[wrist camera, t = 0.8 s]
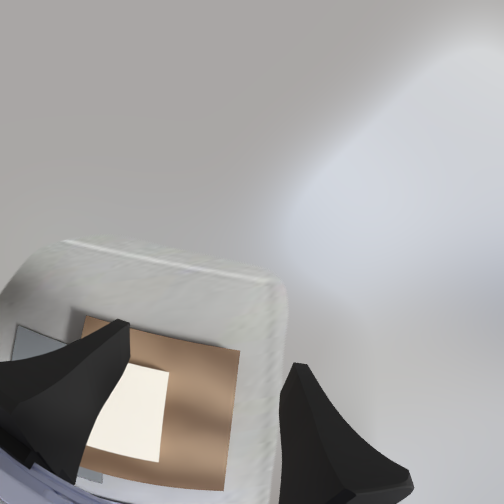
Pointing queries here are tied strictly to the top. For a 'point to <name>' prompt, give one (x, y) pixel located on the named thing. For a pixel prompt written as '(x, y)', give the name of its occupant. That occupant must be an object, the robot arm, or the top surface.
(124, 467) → the board
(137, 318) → the top surface
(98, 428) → the tile
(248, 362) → the top surface
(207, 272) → the top surface
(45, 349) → the mat
